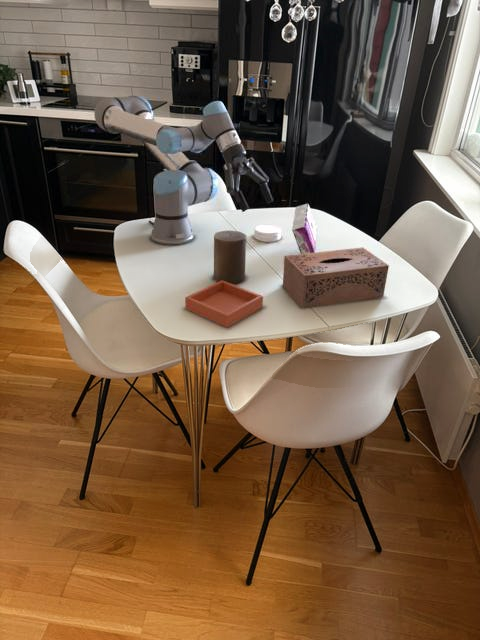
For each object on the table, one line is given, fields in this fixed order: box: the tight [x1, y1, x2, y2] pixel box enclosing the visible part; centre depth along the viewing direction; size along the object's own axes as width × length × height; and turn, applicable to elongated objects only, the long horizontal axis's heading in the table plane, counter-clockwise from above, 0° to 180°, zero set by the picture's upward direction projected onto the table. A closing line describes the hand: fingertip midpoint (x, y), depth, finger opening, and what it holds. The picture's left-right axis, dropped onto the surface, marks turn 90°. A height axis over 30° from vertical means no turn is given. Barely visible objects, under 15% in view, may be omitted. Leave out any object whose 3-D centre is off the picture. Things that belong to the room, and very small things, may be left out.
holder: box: [184, 280, 264, 328], centre depth 132 cm, size 15×15×4 cm
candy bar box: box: [291, 203, 318, 254], centre depth 169 cm, size 11×5×16 cm
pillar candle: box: [213, 230, 247, 285], centre depth 146 cm, size 10×10×15 cm
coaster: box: [253, 224, 282, 243], centre depth 181 cm, size 10×10×4 cm
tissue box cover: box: [282, 246, 390, 309], centre depth 141 cm, size 26×14×10 cm, turn 107°
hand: (258, 206), depth 165 cm, fingers open, 13 cm apart
